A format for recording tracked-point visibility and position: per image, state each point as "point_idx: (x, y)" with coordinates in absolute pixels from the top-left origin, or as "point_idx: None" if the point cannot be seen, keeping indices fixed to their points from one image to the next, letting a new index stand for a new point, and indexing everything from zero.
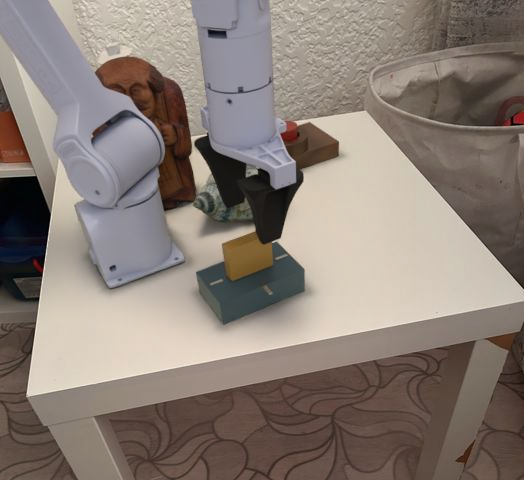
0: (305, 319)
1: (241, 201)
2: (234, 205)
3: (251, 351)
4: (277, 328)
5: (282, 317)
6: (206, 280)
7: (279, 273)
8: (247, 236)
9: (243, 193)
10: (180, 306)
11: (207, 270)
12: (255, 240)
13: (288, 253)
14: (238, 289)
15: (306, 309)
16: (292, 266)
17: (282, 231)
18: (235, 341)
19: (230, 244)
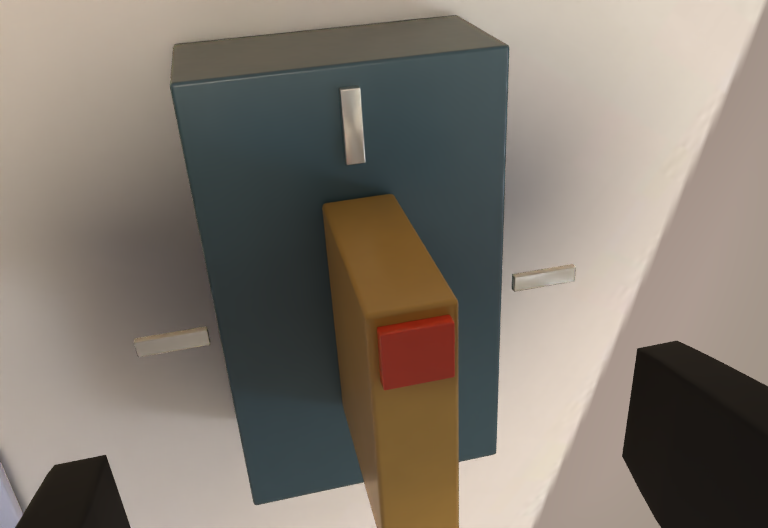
0: (611, 98)
1: (110, 486)
2: (126, 523)
3: (619, 328)
4: (584, 217)
5: (546, 179)
6: (336, 477)
7: (468, 186)
8: (401, 431)
9: (95, 521)
10: None
11: (267, 465)
12: (457, 396)
13: (331, 69)
14: (462, 379)
15: (565, 67)
16: (453, 99)
17: (707, 355)
18: (550, 361)
19: (418, 517)
